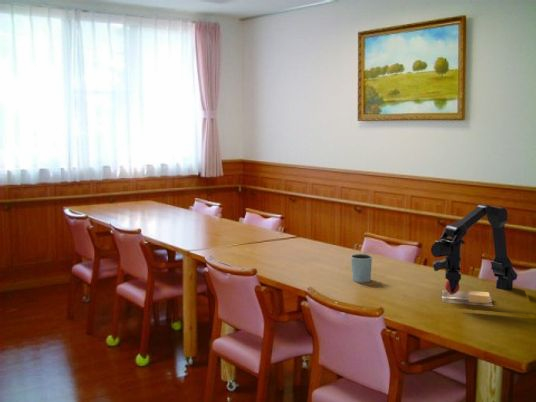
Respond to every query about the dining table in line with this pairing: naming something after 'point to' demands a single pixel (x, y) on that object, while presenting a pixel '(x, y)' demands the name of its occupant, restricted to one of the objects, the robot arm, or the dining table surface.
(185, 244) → the dining table surface
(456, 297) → the board
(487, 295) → the light orange rectangular block
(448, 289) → the onion
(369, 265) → the grey blue cup
